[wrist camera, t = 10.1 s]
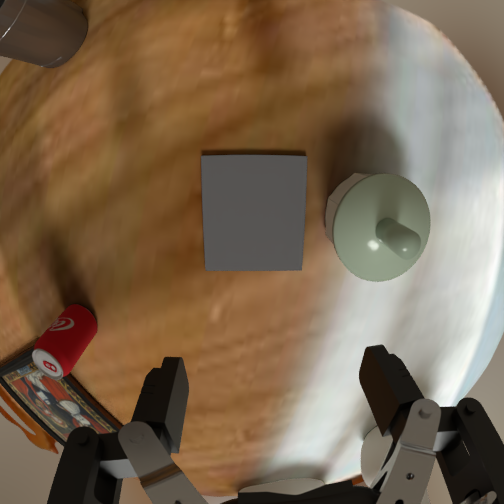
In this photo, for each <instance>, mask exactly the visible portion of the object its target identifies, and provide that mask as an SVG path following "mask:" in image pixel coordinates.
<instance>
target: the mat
mask: <svg viewBox="0 0 504 504" xmlns="http://www.w3.org/2000/svg"><path fill="white" fill-rule="evenodd" d="M201 172H202V207H203V231H204V250H205V268H206V271H287V270H302V260H303V245H304V227H305V207H306V182H307V156H288V155H210V156H201Z"/></svg>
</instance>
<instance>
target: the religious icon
mask: <svg viewBox="0 0 504 504" xmlns="http://www.w3.org/2000/svg"><path fill="white" fill-rule="evenodd" d="M34 346H35V345H34ZM34 346H32V347H31V348H29V349H27V350H25V351H24V352H22V353H21V354H19V355H17V356H16V357H14V358H13V359H11V360H9V361H7V362H6V363H4V364H2V365H1V366H0V384H1V385H2V386H3V387H4V388H5V389H6V390H7V392H8V393H9V394H10V395H11V396H12V397H13V398H14V399H15V401H16V402H17V403H18V404H19V405H20V406H21V407H22V408H23V409H24V410H25V411H26V412H27V413H28V414H29V415H30V416H31V417H32V418H33V419H34V420H35V421H36V422H37V423H38V424H39V425H40V426H41V427H42V428H43V429H44V430H45V431H46V432H47V433H49V435H51V436H52V437H53V438H54V439H55V440H57V441H58V442H59V443H60V444H61V445H63V446H64V447H65V444H66V441H67V438H68V436H69V434H70V432H71V431H72V430H74V429H75V428H77V427H81V426H87V427H90V428H92V429H94V430H95V431H96V432H97V434H103V433H113V432H118V431H120V429H121V428H122V427H123V425H122V424H121V423H119V422H118V421H117V420H116V419H115V418H114V417H113V416H112V415H110V414H109V413H108V412H107V411H106V410H105V409H104V408H103V407H102V406H101V405H100V404H99V403H98V402H97V401H95V400H94V399H93V398H92V397H91V396H90V395H89V394H88V393H87V392H86V391H85V390H84V389H83V387H82V386H81V385H80V384H79V383H78V382H77V381H76V380H75V379H74V378H73V377H72V376H71V375H70V374H68V375H66V376H64V377H62V378H61V379H59V380H54V379H51V378H49V377H47V376H46V375H45V374H43V373H42V372H41V371H40V370H39V369H38V367H37V366H36V365H35V363H34V361H33V357H32V353H33V351H34Z"/></svg>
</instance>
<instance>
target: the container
mask: <svg viewBox="0 0 504 504" xmlns="http://www.w3.org/2000/svg"><path fill="white" fill-rule="evenodd" d="M323 485H325V484H324V482H323V481H321V480H318V479H313V478H294V479H286V480H280V481H275V482H271V483H266V484H260V485H255V486H249V487H246V488H243V489H241V490H240V491H239V492H274V493H282V494H291V495H298V494H302V493H305V492H307V491H310V490H313V489H316V488H318V487H321V486H323Z"/></svg>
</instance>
